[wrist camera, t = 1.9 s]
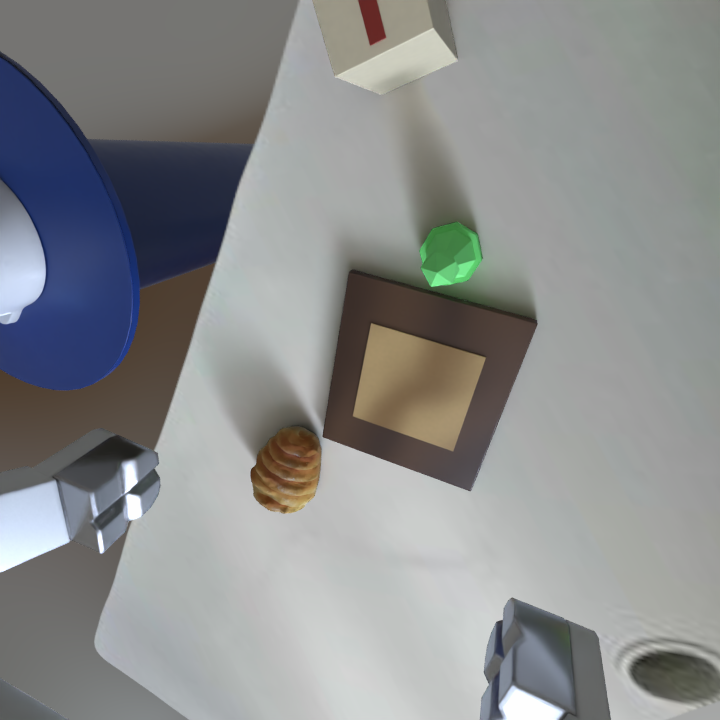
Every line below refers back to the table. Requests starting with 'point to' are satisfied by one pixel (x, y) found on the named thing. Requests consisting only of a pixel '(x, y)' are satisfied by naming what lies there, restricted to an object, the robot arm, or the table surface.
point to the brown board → (422, 376)
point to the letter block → (385, 40)
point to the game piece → (450, 254)
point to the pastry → (287, 470)
